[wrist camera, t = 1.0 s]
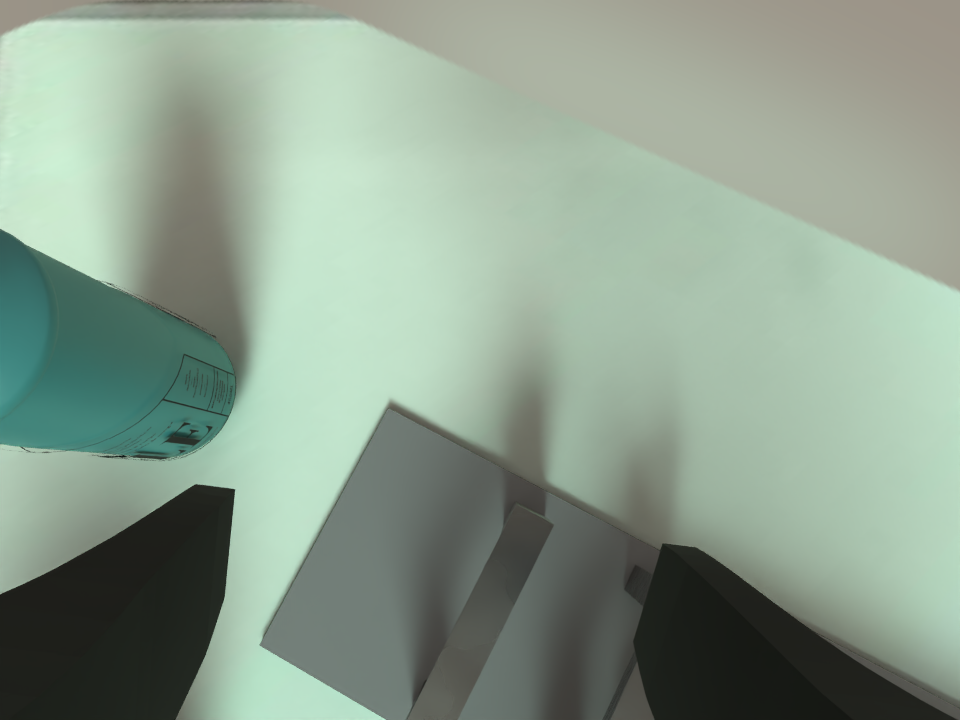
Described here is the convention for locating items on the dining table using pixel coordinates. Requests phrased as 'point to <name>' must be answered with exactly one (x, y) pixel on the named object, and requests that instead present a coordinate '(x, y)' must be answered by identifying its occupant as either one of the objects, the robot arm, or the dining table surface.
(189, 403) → the beverage bottle
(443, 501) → the mat
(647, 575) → the collar
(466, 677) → the collar
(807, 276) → the dining table surface
